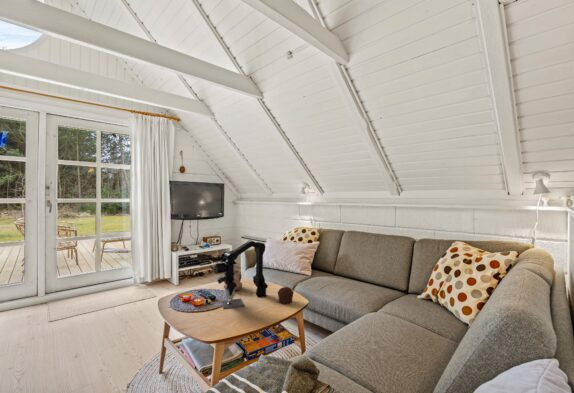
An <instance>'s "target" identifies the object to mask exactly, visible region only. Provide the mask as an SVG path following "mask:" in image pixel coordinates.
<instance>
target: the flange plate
mask: <svg viewBox="0 0 574 393" xmlns="http://www.w3.org/2000/svg"><path fill="white" fill-rule="evenodd" d="M243 301H244V300H243V299H242V298H241V297H240V298H234V299H232V297H227V300H221V301H220V303H221V306H222V310H225V309H233V308H241V307H245V303H244V302H243Z"/></svg>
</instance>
